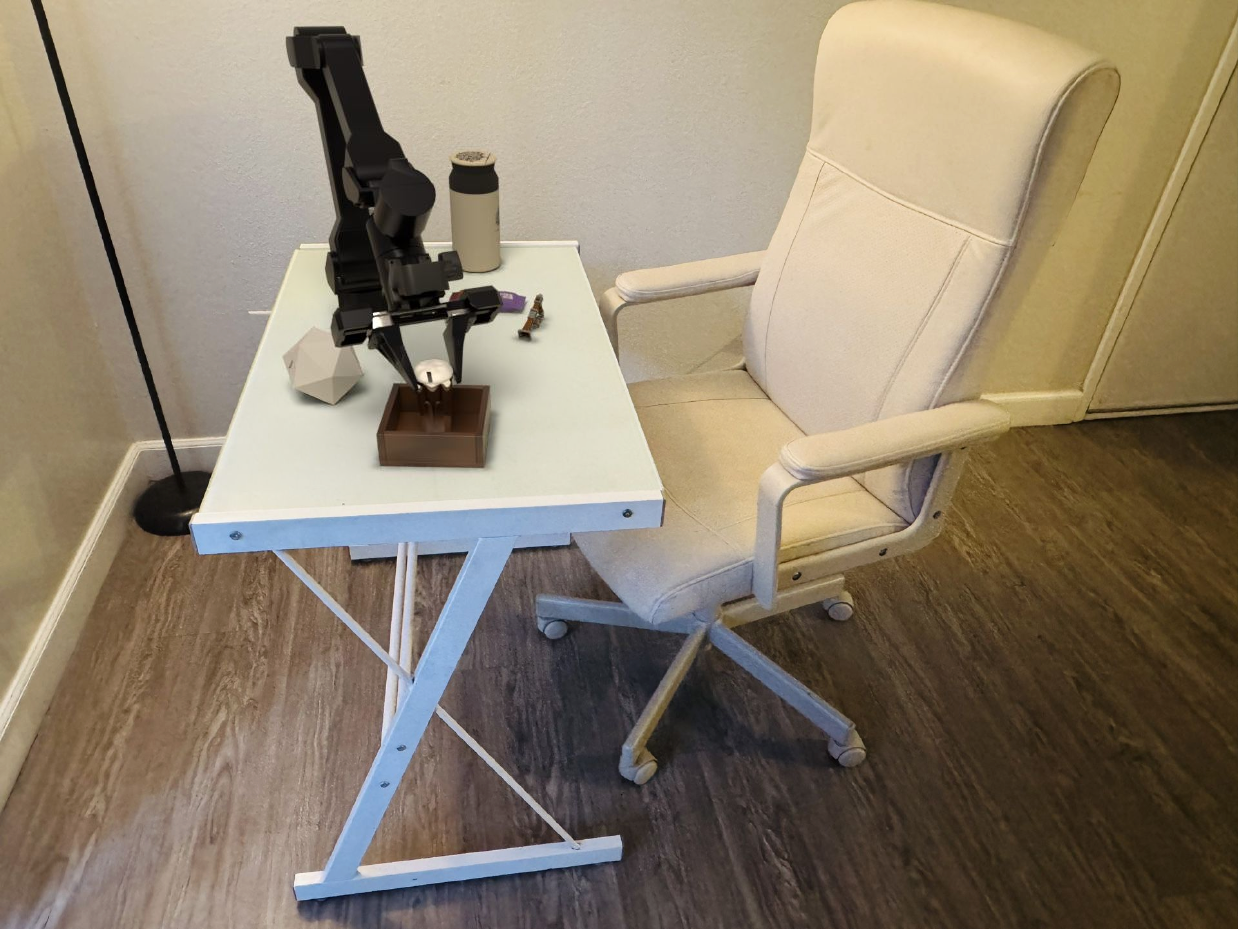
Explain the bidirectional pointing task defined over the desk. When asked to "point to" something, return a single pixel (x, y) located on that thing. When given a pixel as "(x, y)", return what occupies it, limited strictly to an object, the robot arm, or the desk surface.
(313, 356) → the die
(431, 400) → the milkshake
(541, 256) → the desk surface
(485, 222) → the travel mug
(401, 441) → the open box
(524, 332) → the wooden post with brackets
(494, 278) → the desk surface
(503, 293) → the snack package
